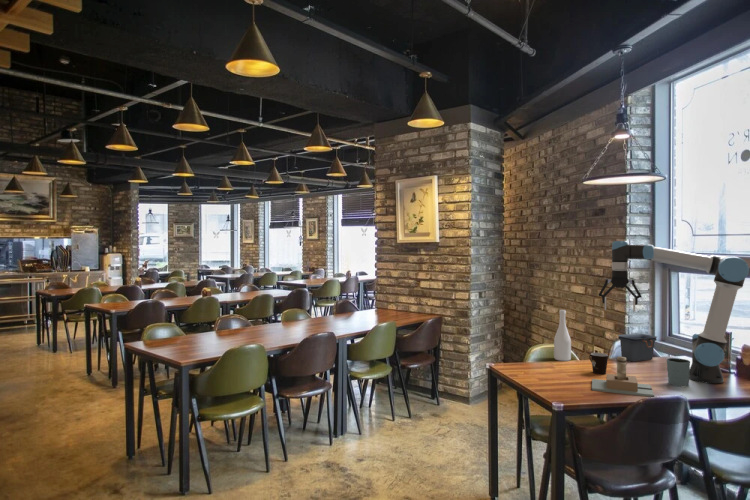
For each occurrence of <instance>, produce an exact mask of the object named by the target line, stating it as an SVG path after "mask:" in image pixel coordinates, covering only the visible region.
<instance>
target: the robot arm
mask: <svg viewBox="0 0 750 500" xmlns="http://www.w3.org/2000/svg"><path fill="white" fill-rule="evenodd" d="M611 244H612V245H611V270H612V271H611V279H608V278H606V279H605V281H604V283H603V286H602V288H601V289H600V290H599V293H598V297H601V298H602V300H601V301H602V302H601V303H602V304H604V310H605V311H607V295H608V294H609V293H610V292H612V290H614V288H617V289H619V288H621V289H624V288H625V289H626V290H627V291H628V292H629V294H630V295H632V297H633V298H632V305H633V307H632V311H633V312H636V306H638V304H639V303H638V302H639V301H638V299H641V298H642V294H641V293H640V291H639V289H638V287H637V285H636V283H635V280H634V279H629V275H628V274H629V271H628V270H629V260H646V261H653V262H657V263H658V262H659V263H662V264H663V263H664V264H669V265H673V266H677V267H678V266H680V267H684V268H690V269H694V270H695V269H696V270H700V271H704V272H705V271H706V273H707V274H710V275H714V279H713V282H714V284H715V285H716V286H715V289H714V292H713V296H712V300H711V303H710V306H709V311H708V313H707V318H706V321H705V324H704V328H703V331H702V332H700V333H699V334H697V333H696V334H693V335H692V336H691V337H692V338H691V341H692V342H691V343H692V346H691V356H692V357H691V364H690V372H689V378H690V379H689V380H691V379H692V381H695V380H696V381H695V382H699V381H700V383H705V382H707V384H723V383H724V376H723V375H724V374H723V372H722V370H721V367H720V365H721V363H722V362H723V361H724V359H725V349H726V347H727V343H728V341H727V340H726V339H725V335H726V332H727V329H728V325H729V322H730V318H731V314H732V310H733V308H734V304H735V301H736V297H737V294H738V291H739V290H740V289H742V288H743V286H744V283H745V280H746V278H747V277H748V276H749V273H750V268H749V265H748V262H747V261H746V260H745V259H743V258H742V257H739V256H736V255H735V256H734V255H726V256H725V255H716V254H711V255H704V254H697V253H692V252H688V251H681V250H675V249H670V248H663V247H659V246H655V245H653V244H646V243H645V244H643V243H642V244H629V242H628V241H627V240H614V241H613V242H612V243H611ZM610 282H611V283H612V285H611V286H610V287H609V288H608V289H607V290H606V291H605V289H606V288H607V285H608V284H610ZM629 283H630V284H631V285H632V286H633V289H634V290H635V292H636V294H637V295H636V294H635V293H634V291H632V289H631V288H630V287H629V286H628V284H629ZM604 291H605V292H604Z"/></svg>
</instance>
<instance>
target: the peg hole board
mask: <svg viewBox="0 0 750 500" xmlns="http://www.w3.org/2000/svg"><path fill="white" fill-rule="evenodd" d="M605 376H606V377H605V378H606V379H596V378H591V391H594V392H604V393H614V394H622V395H623V394H624V395H631V396H641V397H642V396H643V397H650V398H652V397H651V396H654V397H655V393H654V391H653V389H652V384H645V383H638V380H637V376H634V375H627V374H626V380H619V379H617V373H616V374H614V373H606V374H605Z"/></svg>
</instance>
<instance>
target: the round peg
mask: <svg viewBox="0 0 750 500" xmlns="http://www.w3.org/2000/svg"><path fill="white" fill-rule="evenodd" d="M616 375H617V379H619V380H626V375H627V360H626V357H621V356H617V358H616Z"/></svg>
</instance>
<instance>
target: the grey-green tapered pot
mask: <svg viewBox="0 0 750 500" xmlns="http://www.w3.org/2000/svg"><path fill="white" fill-rule="evenodd" d="M690 367H691V361H690V360H689V359H686V358H685V359H684V358H677V357H675V358H674V357H668V358H666V368H667V379H668V382H667V383H668V384H669V385H671V386H674V385H675V386H674V387H681V386H686V387H689V384H690V382H689V381H690V379H689V372H690Z"/></svg>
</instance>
